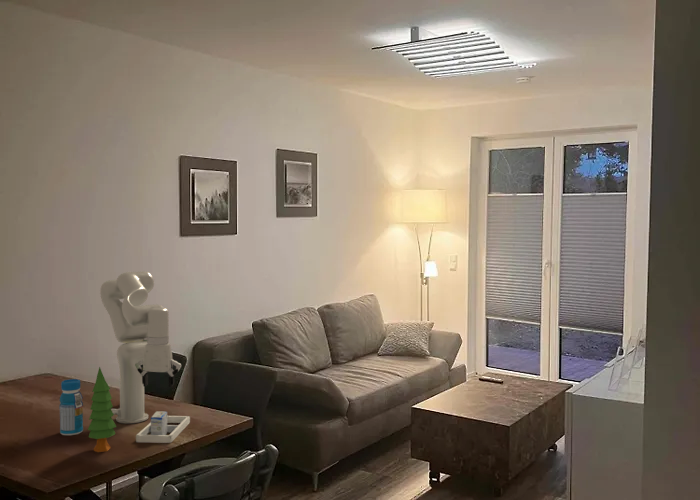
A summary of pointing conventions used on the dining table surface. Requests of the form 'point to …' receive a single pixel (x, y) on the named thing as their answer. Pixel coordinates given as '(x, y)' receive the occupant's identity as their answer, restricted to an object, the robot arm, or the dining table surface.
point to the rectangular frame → (174, 429)
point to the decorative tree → (101, 414)
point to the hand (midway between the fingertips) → (158, 385)
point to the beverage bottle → (71, 408)
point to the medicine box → (159, 423)
